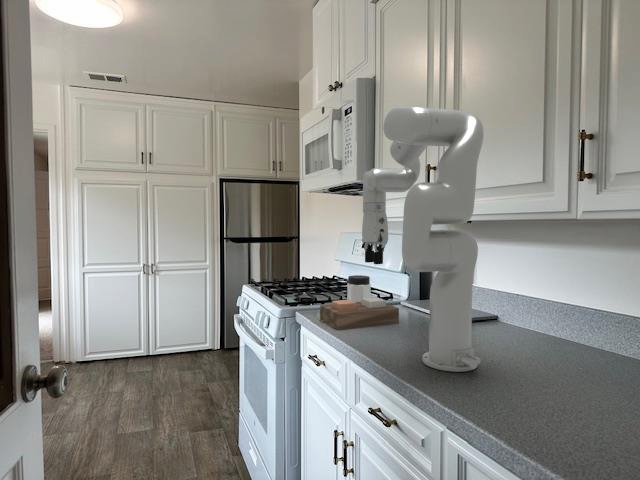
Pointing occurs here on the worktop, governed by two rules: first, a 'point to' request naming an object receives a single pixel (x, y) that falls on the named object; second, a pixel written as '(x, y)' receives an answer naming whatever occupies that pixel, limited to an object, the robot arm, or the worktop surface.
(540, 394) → the worktop surface
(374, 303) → the offwhite key
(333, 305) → the terracotta key
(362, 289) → the jar
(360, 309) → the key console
